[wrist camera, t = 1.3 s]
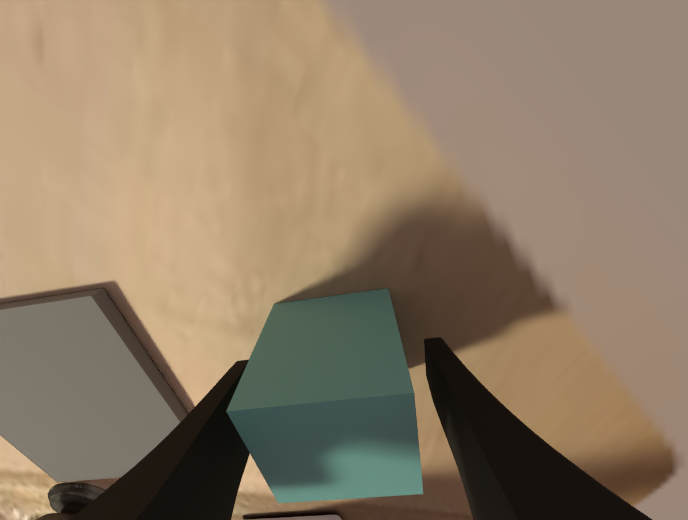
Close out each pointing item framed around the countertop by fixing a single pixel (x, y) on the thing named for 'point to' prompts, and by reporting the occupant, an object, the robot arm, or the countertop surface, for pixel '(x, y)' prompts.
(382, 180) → the countertop surface
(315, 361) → the teal cube
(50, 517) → the dark grey chess piece
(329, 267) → the countertop surface
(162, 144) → the countertop surface
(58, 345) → the charcoal mat
